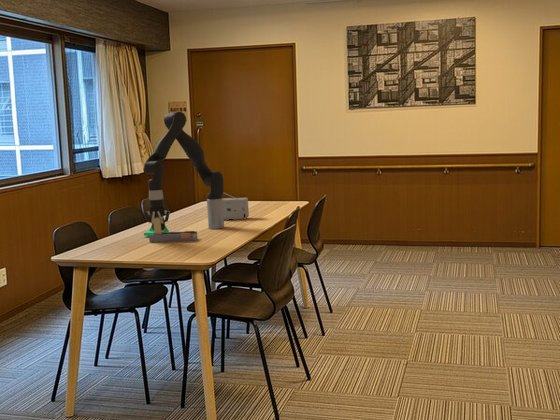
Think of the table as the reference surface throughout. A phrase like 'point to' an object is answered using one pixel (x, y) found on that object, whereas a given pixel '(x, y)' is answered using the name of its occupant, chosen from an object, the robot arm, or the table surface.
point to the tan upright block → (157, 226)
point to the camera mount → (153, 231)
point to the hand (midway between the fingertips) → (158, 230)
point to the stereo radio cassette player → (235, 208)
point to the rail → (174, 237)
